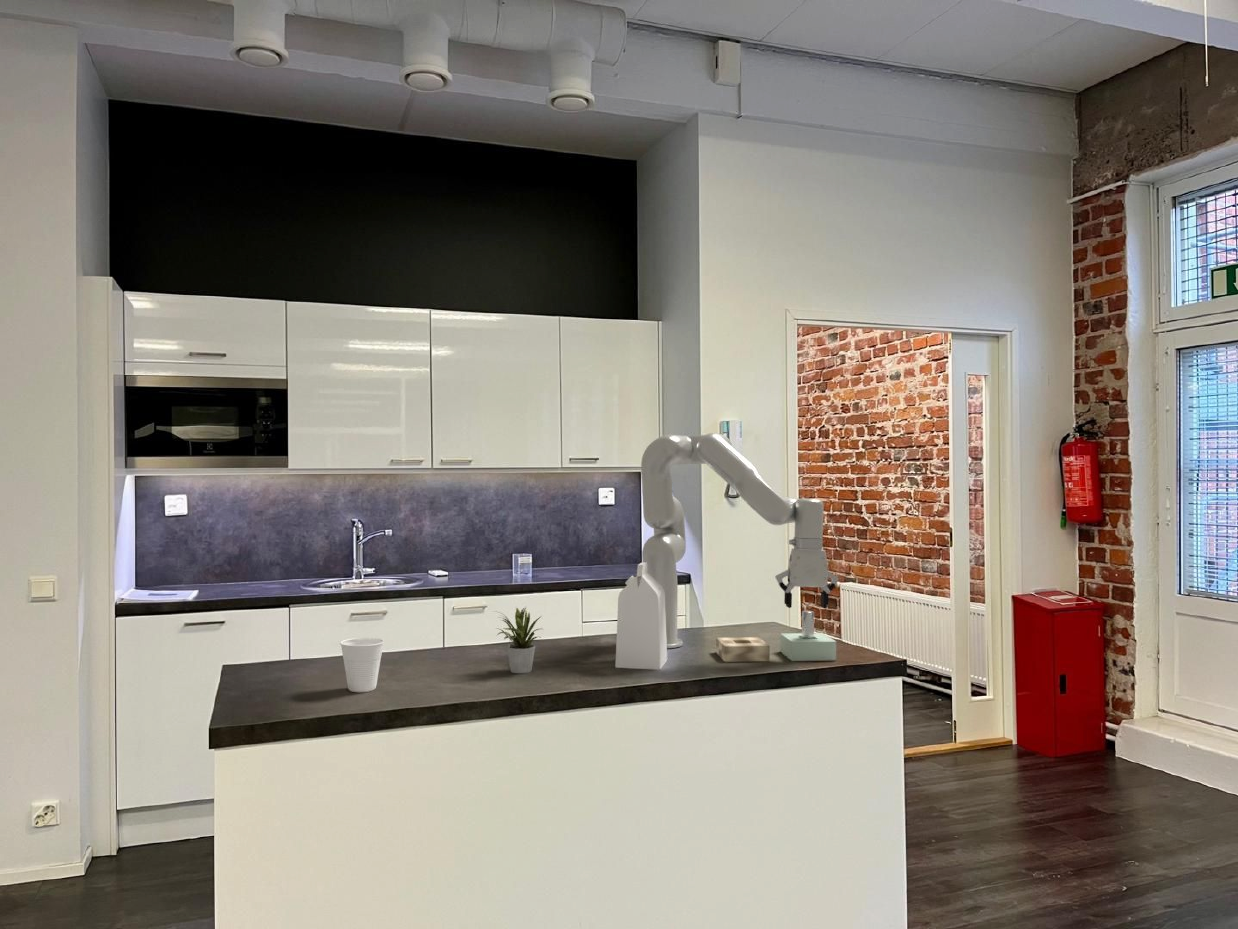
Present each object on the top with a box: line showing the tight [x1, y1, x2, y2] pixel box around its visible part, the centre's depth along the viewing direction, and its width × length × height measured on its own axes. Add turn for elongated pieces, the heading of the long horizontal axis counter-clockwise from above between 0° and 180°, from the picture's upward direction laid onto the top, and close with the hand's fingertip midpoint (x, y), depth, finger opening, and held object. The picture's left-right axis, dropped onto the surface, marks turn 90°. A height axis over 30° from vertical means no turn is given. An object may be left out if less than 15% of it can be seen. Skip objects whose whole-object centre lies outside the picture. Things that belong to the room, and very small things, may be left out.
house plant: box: [494, 606, 544, 674], centre depth 241 cm, size 14×14×16 cm
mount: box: [715, 636, 771, 663], centre depth 259 cm, size 12×12×4 cm
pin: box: [801, 610, 815, 639], centre depth 260 cm, size 3×3×12 cm
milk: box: [614, 561, 668, 671], centre depth 249 cm, size 12×12×26 cm
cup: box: [339, 637, 386, 693], centre depth 220 cm, size 10×10×11 cm
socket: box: [779, 632, 837, 662], centre depth 260 cm, size 12×12×5 cm
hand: (806, 607), depth 260 cm, fingers open, 9 cm apart
